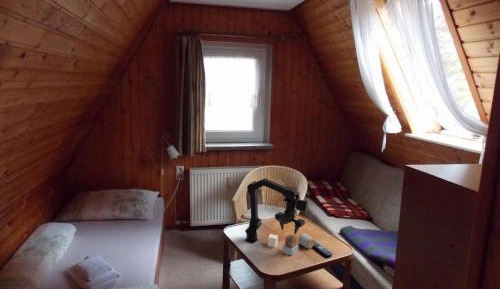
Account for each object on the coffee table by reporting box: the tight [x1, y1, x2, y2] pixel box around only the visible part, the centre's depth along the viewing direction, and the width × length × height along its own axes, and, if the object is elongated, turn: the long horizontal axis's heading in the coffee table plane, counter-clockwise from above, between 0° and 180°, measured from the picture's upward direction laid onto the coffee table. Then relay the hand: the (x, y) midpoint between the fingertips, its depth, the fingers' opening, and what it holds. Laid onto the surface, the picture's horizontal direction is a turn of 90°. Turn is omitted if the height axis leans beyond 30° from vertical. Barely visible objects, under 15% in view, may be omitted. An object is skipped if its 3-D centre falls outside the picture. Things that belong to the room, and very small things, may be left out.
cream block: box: [267, 233, 279, 248], centre depth 214 cm, size 5×5×6 cm
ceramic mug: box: [297, 232, 315, 250], centre depth 214 cm, size 11×8×8 cm
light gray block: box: [282, 244, 299, 256], centre depth 206 cm, size 7×7×4 cm
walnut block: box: [284, 233, 298, 249], centre depth 205 cm, size 5×5×6 cm
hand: (288, 232), depth 207 cm, fingers open, 9 cm apart
